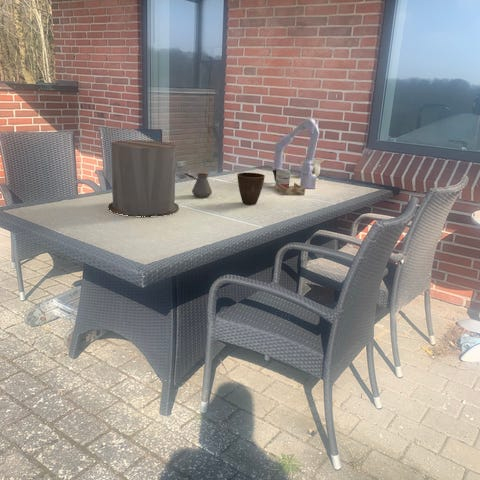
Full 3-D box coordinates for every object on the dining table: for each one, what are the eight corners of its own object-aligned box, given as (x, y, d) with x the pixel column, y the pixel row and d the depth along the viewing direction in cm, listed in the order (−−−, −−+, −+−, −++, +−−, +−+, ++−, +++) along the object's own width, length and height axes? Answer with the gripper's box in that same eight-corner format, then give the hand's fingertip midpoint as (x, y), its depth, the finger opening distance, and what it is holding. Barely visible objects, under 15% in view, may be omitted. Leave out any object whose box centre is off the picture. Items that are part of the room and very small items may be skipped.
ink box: (289, 188, 326) (290, 169, 322) (283, 188, 322) (285, 170, 319) (280, 185, 332) (281, 167, 328) (274, 186, 329) (276, 168, 325)
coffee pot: (200, 193, 295) (201, 168, 290) (215, 196, 289) (217, 170, 284) (175, 198, 278) (176, 171, 274) (191, 202, 272) (192, 175, 267)
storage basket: (149, 221, 231) (149, 151, 221) (93, 209, 247) (90, 142, 237) (192, 207, 260) (193, 145, 251) (139, 197, 276) (139, 138, 266)
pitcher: (301, 175, 376) (303, 156, 371) (324, 178, 368) (326, 159, 364) (296, 177, 366) (298, 158, 362) (319, 180, 359) (321, 161, 355)
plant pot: (257, 208, 268) (259, 178, 263) (231, 204, 272) (233, 175, 268) (266, 202, 281) (268, 174, 276) (241, 199, 286) (242, 171, 281)
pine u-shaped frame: (294, 189, 323) (295, 183, 321) (304, 194, 307) (304, 188, 306) (276, 189, 319) (276, 183, 318) (285, 194, 304) (285, 188, 303)
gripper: (269, 159, 339) (267, 178, 343) (275, 162, 325) (274, 183, 329) (278, 159, 341) (277, 179, 345) (286, 162, 327) (284, 183, 331)
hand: (276, 181), depth 337 cm, fingers closed
